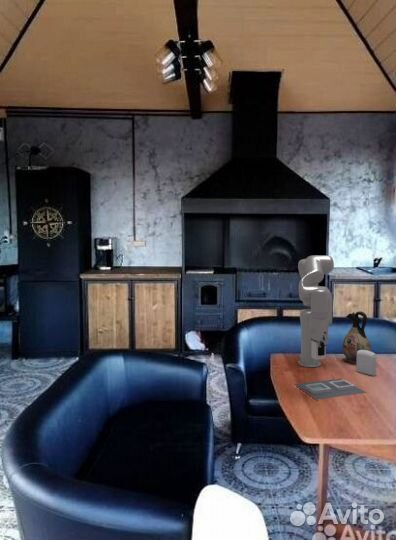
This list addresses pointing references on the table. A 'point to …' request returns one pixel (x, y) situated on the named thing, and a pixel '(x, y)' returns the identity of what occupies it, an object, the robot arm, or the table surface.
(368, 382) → the table surface
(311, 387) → the dock board
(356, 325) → the ceramic jug
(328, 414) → the table surface
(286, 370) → the table surface
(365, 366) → the photo printer
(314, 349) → the plug
